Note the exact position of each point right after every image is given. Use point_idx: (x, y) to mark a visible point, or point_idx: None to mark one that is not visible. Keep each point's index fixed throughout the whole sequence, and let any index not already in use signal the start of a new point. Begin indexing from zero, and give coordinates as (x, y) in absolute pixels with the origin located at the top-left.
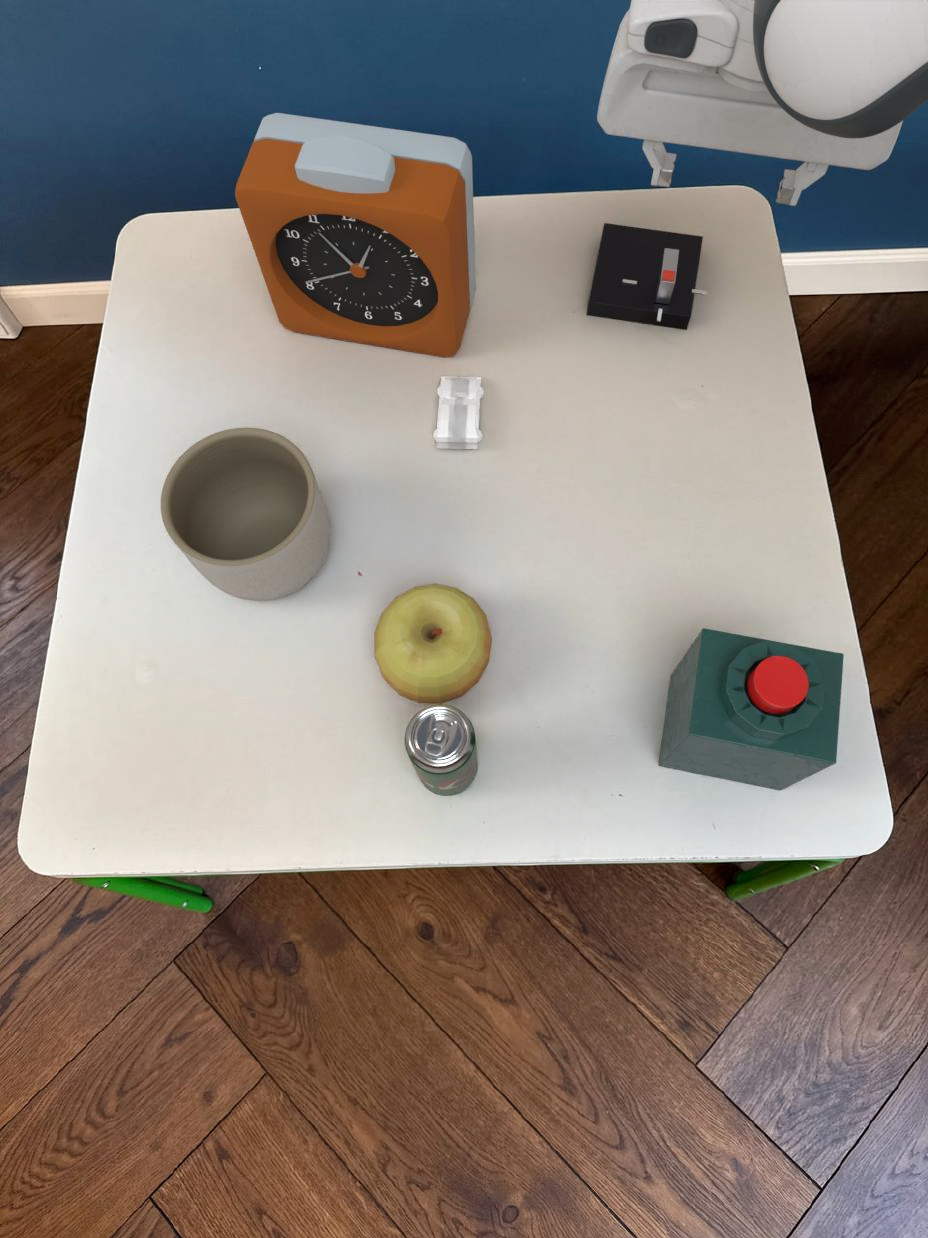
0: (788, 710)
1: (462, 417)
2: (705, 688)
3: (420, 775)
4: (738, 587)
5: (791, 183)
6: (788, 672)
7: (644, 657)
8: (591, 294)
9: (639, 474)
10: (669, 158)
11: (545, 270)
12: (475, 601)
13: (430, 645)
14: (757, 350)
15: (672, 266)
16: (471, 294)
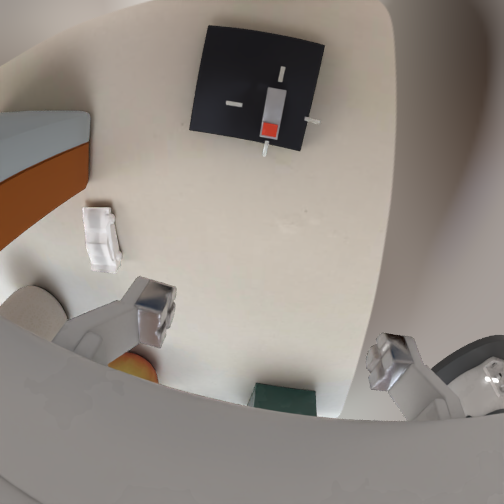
0: None
1: (101, 253)
2: None
3: None
4: (302, 352)
5: (389, 385)
6: None
7: (242, 376)
8: (192, 120)
9: (243, 285)
10: (147, 322)
11: (153, 75)
12: (140, 377)
13: None
14: (364, 176)
15: (275, 115)
16: (81, 139)
